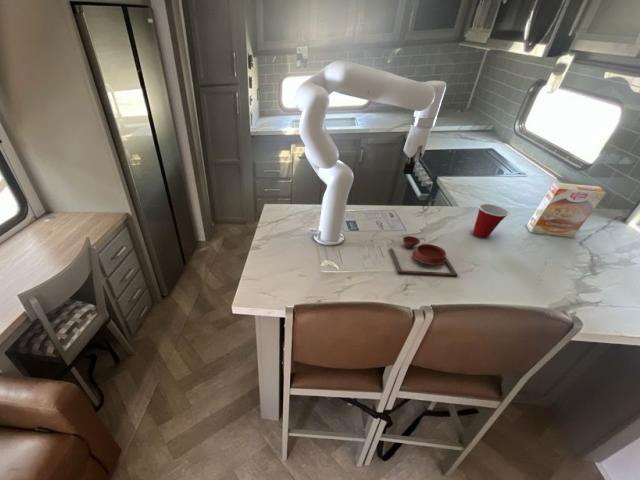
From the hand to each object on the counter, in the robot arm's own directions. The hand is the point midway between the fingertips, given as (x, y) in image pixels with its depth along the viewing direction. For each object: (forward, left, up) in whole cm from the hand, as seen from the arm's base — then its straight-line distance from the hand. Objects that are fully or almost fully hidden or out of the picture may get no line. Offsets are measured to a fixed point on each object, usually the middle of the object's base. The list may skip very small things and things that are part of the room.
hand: (407, 173), depth 126 cm
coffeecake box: (+66, +3, -25) cm, 71 cm away
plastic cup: (+37, -2, -25) cm, 45 cm away
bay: (+6, -26, -25) cm, 37 cm away
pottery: (+7, -21, -25) cm, 33 cm away
